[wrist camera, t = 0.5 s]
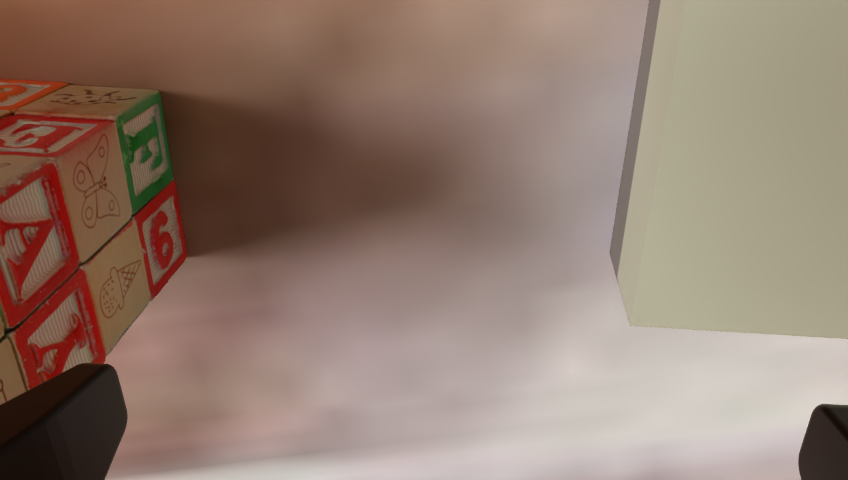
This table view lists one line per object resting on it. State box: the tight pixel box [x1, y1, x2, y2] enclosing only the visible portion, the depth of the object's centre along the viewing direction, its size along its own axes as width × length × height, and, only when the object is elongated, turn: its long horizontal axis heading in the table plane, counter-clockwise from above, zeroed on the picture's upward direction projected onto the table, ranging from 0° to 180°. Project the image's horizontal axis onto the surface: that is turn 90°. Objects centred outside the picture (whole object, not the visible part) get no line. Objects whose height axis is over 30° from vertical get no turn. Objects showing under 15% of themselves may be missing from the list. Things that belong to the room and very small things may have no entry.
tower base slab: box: [610, 0, 661, 282], centre depth 20 cm, size 10×10×2 cm
